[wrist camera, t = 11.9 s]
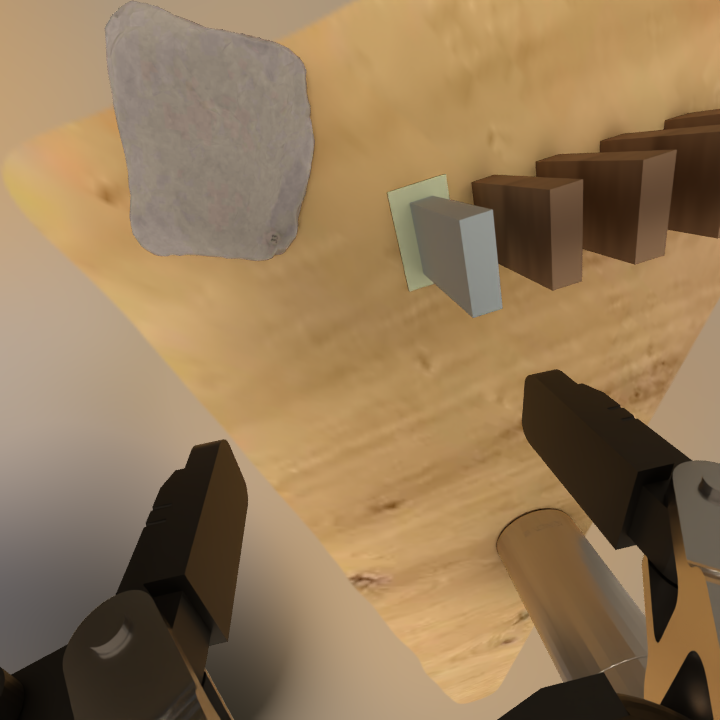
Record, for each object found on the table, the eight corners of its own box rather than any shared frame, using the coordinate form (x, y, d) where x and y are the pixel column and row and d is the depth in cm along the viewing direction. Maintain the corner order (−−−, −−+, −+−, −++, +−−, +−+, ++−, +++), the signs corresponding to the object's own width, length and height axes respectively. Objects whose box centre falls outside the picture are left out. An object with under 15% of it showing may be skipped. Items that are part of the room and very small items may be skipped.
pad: (460, 274, 28) (461, 275, 28) (408, 290, 28) (409, 291, 28) (445, 173, 25) (445, 174, 25) (386, 192, 25) (387, 192, 25)
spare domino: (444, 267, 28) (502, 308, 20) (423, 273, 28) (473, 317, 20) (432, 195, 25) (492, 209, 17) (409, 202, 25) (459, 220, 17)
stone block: (304, 51, 22) (109, 8, 19) (325, 34, 19) (83, -25, 15) (297, 252, 28) (145, 247, 25) (311, 271, 24) (133, 268, 21)
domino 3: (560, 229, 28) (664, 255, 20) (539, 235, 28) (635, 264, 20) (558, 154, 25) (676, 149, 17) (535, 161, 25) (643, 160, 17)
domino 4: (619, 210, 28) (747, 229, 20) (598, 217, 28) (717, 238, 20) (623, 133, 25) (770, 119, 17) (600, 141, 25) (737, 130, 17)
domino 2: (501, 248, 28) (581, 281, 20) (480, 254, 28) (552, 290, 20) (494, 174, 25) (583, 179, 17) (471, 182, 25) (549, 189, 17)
